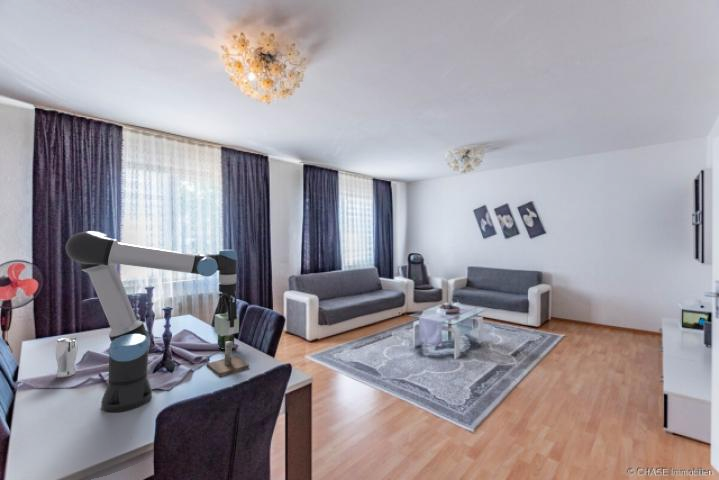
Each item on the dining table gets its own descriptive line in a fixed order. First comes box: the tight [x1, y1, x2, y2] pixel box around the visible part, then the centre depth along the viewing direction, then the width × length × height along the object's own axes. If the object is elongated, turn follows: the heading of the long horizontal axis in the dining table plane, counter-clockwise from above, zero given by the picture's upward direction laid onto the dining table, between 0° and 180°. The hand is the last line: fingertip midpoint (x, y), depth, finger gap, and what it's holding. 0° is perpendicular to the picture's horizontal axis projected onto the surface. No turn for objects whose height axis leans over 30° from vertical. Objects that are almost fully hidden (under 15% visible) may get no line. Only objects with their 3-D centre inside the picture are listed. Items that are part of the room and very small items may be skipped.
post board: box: [206, 341, 250, 378], centre depth 150 cm, size 14×14×12 cm
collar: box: [214, 312, 240, 336], centre depth 146 cm, size 8×8×8 cm
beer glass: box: [55, 336, 79, 379], centre depth 135 cm, size 7×7×15 cm
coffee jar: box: [217, 333, 235, 348], centre depth 174 cm, size 10×8×19 cm
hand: (226, 331), depth 147 cm, fingers closed on collar, 8 cm apart
